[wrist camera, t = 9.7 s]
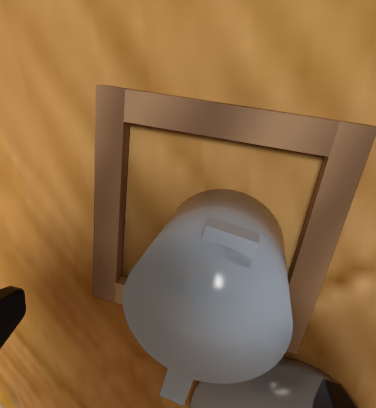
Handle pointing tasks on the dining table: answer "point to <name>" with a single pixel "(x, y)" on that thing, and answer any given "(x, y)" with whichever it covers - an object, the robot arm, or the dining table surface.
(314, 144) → the frame
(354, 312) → the dining table surface
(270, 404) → the disc
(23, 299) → the robot arm
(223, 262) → the jug
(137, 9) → the dining table surface
